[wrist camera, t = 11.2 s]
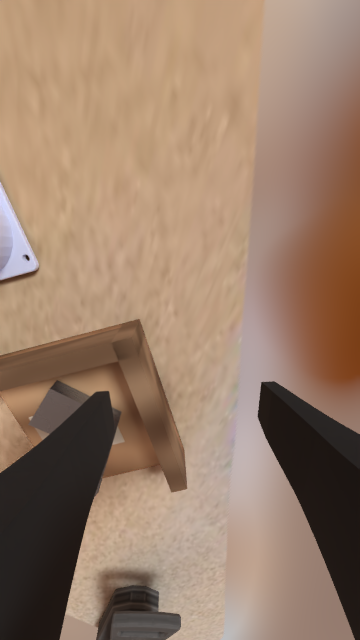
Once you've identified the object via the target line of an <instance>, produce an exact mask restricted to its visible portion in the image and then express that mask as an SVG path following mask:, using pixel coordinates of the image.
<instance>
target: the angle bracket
mask: <svg viewBox="0 0 360 640" xmlns="http://www.w3.org/2000/svg"><path fill="white" fill-rule="evenodd" d="M90 397H91V396H89V395H86V394H84V393H82V392H80V391H78V390H76V389H74V388H72V387H70V386H68V385H66V384H64V383H62V382H60V381H58V380H57V381H56V382H55V383H54V384H53V386H52V387H51V388H50V389H49V391H48V393H47V394H46V396H45V398H44V399H43V401H42V403H41V404H40V406H39V408H38V409H37V411H36V413H35V414H34V416H33V418H32V419H31V421H30V422H29V424H28V425H30V426H32V427H35V428H37V429H39V430H42V431H44V432H46V433H49V434H50V433H52V432H53V431H54V430H55V429H56V428H57V427H59V426H60V425H61V424H62V423H63V422H64V421H65V420H66V419H67V418H68V417H69V416H71V415H72V414H73V413H74V412H75V411H76V410H77V409H78V408H79V407H80V406H81V405H82V404H83V403H84V402H85V401H86V400H87V399H88V398H90ZM112 411H113V417H114V423H115V428H114V433H113V438H112V442H111V447H112V444H113V440H114V437H115V433H116V430H117V426H118V423H119V420H120V416H121V413H122V412H121V411H119V410H117V409H115V408H113V407H112ZM111 447H110V450H111ZM109 454H110V451H109ZM109 454H108V457H109ZM108 457H107V460H106V463H105V466H104V469H103V472H102V475H101V478H100V481H99V484H98V487H97V490H96V493H95V496H96V494H97V493H98V491H99V488H100V485H101V481H102V478H103V474H104V471H105V468H106V464H107V461H108ZM95 496H94V497H95Z"/></svg>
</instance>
